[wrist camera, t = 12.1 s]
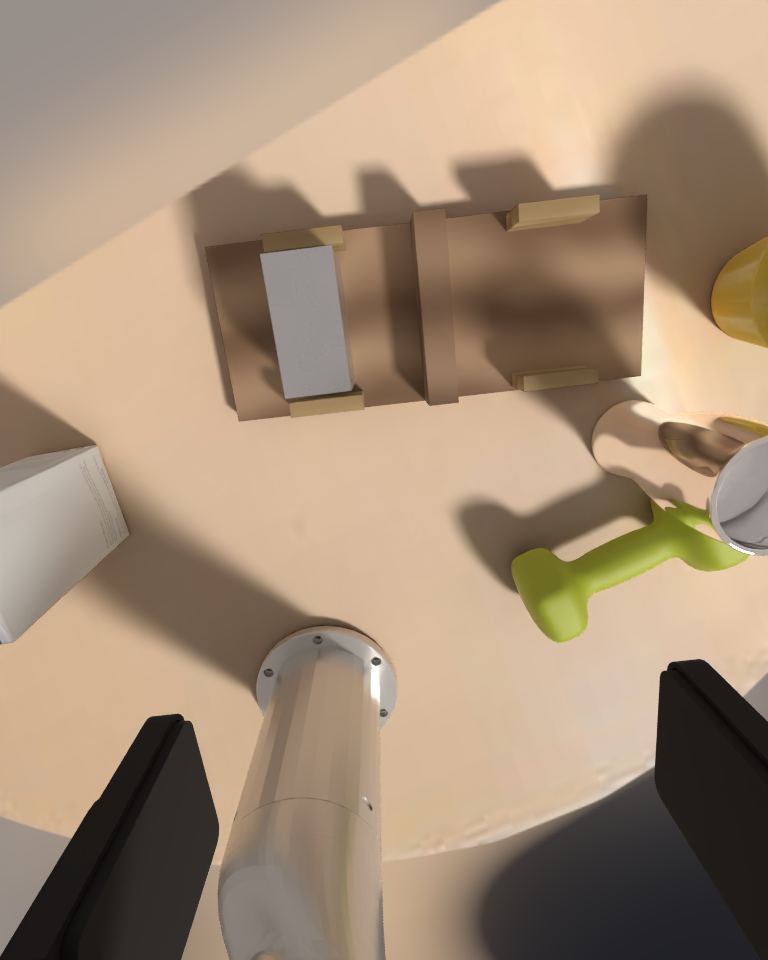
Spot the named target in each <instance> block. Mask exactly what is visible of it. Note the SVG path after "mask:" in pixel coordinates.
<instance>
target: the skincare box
mask: <svg viewBox="0 0 768 960" xmlns="http://www.w3.org/2000/svg"><path fill="white" fill-rule="evenodd" d="M128 536H129V531H128V528H127V526H126V523H125V520H124V518H123V515H122V512H121V509H120V507H119V504H118V501H117V498H116V496H115V493H114V490H113V487H112V484H111V482H110V479H109V476H108V474H107V471H106V469H105V466H104V464H103V461H102V458H101V455H100V452H99V449H98V446H97V445H91V446H86V447H80V448H74V449H68V450H63V451H57V452H52V453H46V454H41V455H35V456H30V457H25V458H23V459H20V460H18V461H16V462H13V463H10V464H8V465H6V466H3V467H1V468H0V644H6V643H13V642H15V641H16V640H17V639H18V638H19V637H20V636H21V635H22V634H23V633H24V632H25V631H26V630H27V629H29V628H30V627H31V626H32V625H33V624H34V623H35V622H36V621H37V620H38V619H39V618H40V617H41V616H42V615H44V614H45V613H46V612H47V611H48V610H49V609H50V608H51V607H52V606H53V605H54V604H55V603H56V602H58V601H59V600H60V599H61V598H62V597H63V596H64V595H65V594H66V593H67V592H68V591H69V590H71V589H72V588H73V587H74V586H75V585H76V584H77V583H78V582H79V581H80V580H81V579H82V578H84V577H85V576H86V575H87V574H88V573H89V572H90V571H91V570H92V569H93V568H94V567H95V566H96V565H97V564H99V563H100V562H101V561H102V560H103V559H104V558H105V557H106V556H107V555H108V554H109V553H110V552H111V551H113V550H114V549H115V548H116V547H117V546H118V545H119V544H120V543H121V542H122V541H123V540H124V539H126V538H127V537H128Z"/></svg>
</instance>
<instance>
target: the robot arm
mask: <svg viewBox="0 0 768 960" xmlns="http://www.w3.org/2000/svg"><path fill="white" fill-rule="evenodd" d="M256 695H257V700H258V704H259V707H260V709H261V711H262V713H263V716H264V719H263V723H262V726H261V730H260V733H259V736H258V740H257V743H256V747H255V750H254V753H253V757H252V760H251V764H250V767H249V770H248V774H247V777H246V781H245V784H244V788H243V791H242V794H241V798H240V801H239V805H238V808H237V811H236V815H235V818H234V822H233V825H232V829H231V832H230V836H229V839H228V842H227V846H226V849H225V853H224V856H223V860H222V864H221V868H220V874H219V881H218V913H219V920H220V925H221V930H222V936H223V939H224V943H225V947H226V950H227V953H228V956H229V960H386V957H385V942H384V926H383V897H382V853H381V768H380V729H381V728H382V727H383V726H384V725H385V723H386V722H387V721H388V719H389V718H390V716H391V714H392V712H393V709H394V707H395V703H396V698H397V683H396V674H395V671H394V668H393V666H392V663H391V661H390V660H389V658H388V656H387V655H386V653H385V652H384V651H383V650H382V649H381V648H380V647H379V646H378V645H377V644H376V643H375V642H373V641H372V640H371V639H369V638H368V637H366V636H364V635H362V634H360V633H358V632H356V631H353V630H350V629H346V628H343V627H335V626H317V627H311V628H306V629H302V630H299V631H297V632H295V633H292V634H290V635H288V636H287V637H285V638H284V639H282V640H281V641H279V642H278V643H277V644H276V645H275V646H274V647H273V648H272V649H271V650H270V651H269V653H268V654H267V656H266V658H265V659H264V661H263V663H262V666H261V668H260V671H259V674H258V679H257V683H256ZM655 784H656V788H657V791H658V793H659V796H660V798H661V799H662V801H663V803H664V804H665V806H666V808H667V809H668V811H669V812H670V814H671V816H672V817H673V819H674V821H675V822H676V824H677V825H678V827H679V829H680V830H681V832H682V833H683V835H684V837H685V838H686V840H687V842H688V843H689V845H690V846H691V848H692V849H693V851H694V853H695V854H696V856H697V858H698V859H699V861H700V862H701V864H702V866H703V867H704V869H705V871H706V872H707V874H708V875H709V877H710V879H711V880H712V882H713V883H714V885H715V887H716V888H717V890H718V892H719V893H720V895H721V896H722V898H723V899H724V901H725V903H726V904H727V906H728V908H729V909H730V911H731V913H732V914H733V916H734V917H735V919H736V921H737V922H738V924H739V926H740V927H741V929H742V930H743V932H744V933H745V935H746V937H747V938H748V940H749V942H750V943H751V945H752V946H753V948H754V950H755V951H756V953H757V955H758V956H759V958H760V959H761V960H768V722H767V721H766V720H765V719H764V718H763V717H762V716H761V715H760V714H759V713H758V712H757V711H756V710H755V709H754V708H753V707H752V706H751V705H750V704H749V703H748V702H747V701H746V700H745V699H744V698H743V697H742V696H741V695H740V694H739V693H738V692H737V691H736V690H735V689H734V688H733V687H732V686H731V685H730V684H729V683H728V682H727V681H726V680H725V679H724V678H723V677H722V676H721V675H719V674H718V673H717V672H716V671H715V670H714V669H713V668H712V667H711V666H710V665H709V664H708V663H707V662H706V661H704V660H701V659H697V660H687V661H678V662H671V663H670V664H669V665H668V668H667V671H662V673H661V675H660V687H659V705H658V723H657V741H656V759H655ZM218 836H219V822H218V818H217V814H216V810H215V806H214V803H213V799H212V795H211V792H210V788H209V784H208V780H207V777H206V773H205V769H204V765H203V762H202V758H201V754H200V751H199V747H198V743H197V739H196V736H195V732H194V728H193V725H192V723H191V722H190V721H184V718H183V716H182V715H181V714H172V715H162V716H153V717H150V718H148V719H147V721H146V722H145V723H144V725H143V727H142V728H141V730H140V732H139V733H138V735H137V737H136V738H135V740H134V742H133V743H132V745H131V747H130V748H129V750H128V752H127V753H126V755H125V757H124V758H123V760H122V762H121V763H120V765H119V767H118V768H117V770H116V772H115V773H114V775H113V777H112V778H111V780H110V782H109V783H108V785H107V787H106V788H105V790H104V792H103V793H102V795H101V797H100V798H99V799H98V800H97V801H96V802H95V803H94V804H93V805H92V807H91V808H90V809H89V811H88V813H87V814H86V816H85V817H84V819H83V821H82V822H81V824H80V826H79V827H78V829H77V831H76V832H75V834H74V836H73V837H72V839H71V841H70V842H69V844H68V846H67V847H66V849H65V851H64V852H63V854H62V856H61V857H60V859H59V861H58V862H57V864H56V865H55V867H54V869H53V871H52V872H51V874H50V875H49V877H48V879H47V880H46V882H45V884H44V885H43V887H42V889H41V890H40V892H39V893H38V895H37V897H36V898H35V900H34V902H33V903H32V905H31V907H30V908H29V910H28V912H27V913H26V915H25V917H24V918H23V920H22V921H21V923H20V925H19V927H18V928H17V930H16V931H15V933H14V935H13V936H12V938H11V940H10V941H9V943H8V945H7V946H6V948H5V950H4V951H3V953H2V955H1V956H0V960H181V958H182V955H183V952H184V948H185V945H186V942H187V938H188V935H189V932H190V929H191V926H192V923H193V920H194V916H195V913H196V910H197V907H198V904H199V900H200V897H201V894H202V891H203V887H204V884H205V881H206V878H207V875H208V871H209V868H210V865H211V862H212V859H213V855H214V852H215V849H216V846H217V842H218Z"/></svg>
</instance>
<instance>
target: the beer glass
mask: <svg viewBox="0 0 768 960" xmlns="http://www.w3.org/2000/svg"><path fill="white" fill-rule="evenodd" d="M591 445H592V451H593V455H594V457H595V459H596V461H597V462H598V463H599V465H600V466H601V467H602V468H604V469H605V470H606V471H608V472H610V473H612V474H615V475H619V476H625V477H628V478H631V479H633V480H634V481H635V482H636V483H637V484H638V485H639V486H640V487H641V488H642V489H643V491H644V492H645V493H646V494H647V495H648V496H649V497H650V498H651V499H652V500H653V501H654V502H655V503H656V504H657V505H659V506H660V507H661V508H662V509H663V510H664V511H665V512H667V513H668V514H670V515H671V516H673V517H674V518H676V519H677V520H679V521H680V522H682V523H683V524H685V525H687V526H689V527H690V528H692V529H694V530H696V531H698V532H700V533H702V534H704V535H706V536H708V537H710V538H712V539H715V540H717V541H719V542H721V543H724V544H726V545H728V546H730V547H731V548H733V549H735V550H737V551H739V552H742V553H745V554H749V555H757V556H765V555H768V423H767V422H764V421H760V420H756V419H753V418H749V417H745V416H739V415H733V414H727V413H716V412H684V413H666V412H665V411H663V410H662V409H660V408H659V407H657V406H655V405H653V404H651V403H649V402H646V401H641V400H630V401H625V402H622V403H619V404H617V405H615V406H613V407H611V408H610V409H609V410H607V411H606V412H605V413H604V414H603V415H602V416H601V418H600V419H599V420H598V422H597V424H596V426H595V428H594V431H593V434H592V441H591Z"/></svg>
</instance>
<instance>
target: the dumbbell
mask: <svg viewBox="0 0 768 960" xmlns="http://www.w3.org/2000/svg"><path fill="white" fill-rule="evenodd" d="M651 508H652V512H653V515H654V521H653V522H652V523H651V524H650V525H648V526H646V527H643V528H640V529H637V530H634V531H632V532H629V533H627V534H625V535H622V536H620V537H618V538H616V539H614V540H611V541H609V542H607V543H605V544H603V545H601V546H599V547H597V548H595V549H593V550H591V551H590V552H588V553H586V554H584V555H583V556H581V557H580V558H578V559H576V560H574V561H571V562H565V561H562V560H561V559H559V558H558V557H557V556H556V555H554V554H553V553H552V552H551V551H549V550H547V549H545V548H535V549H532V550H529V551H527V552H525V553H523V554H521V555H519V556H517V557H515V559H514V560H513V562H512V565H511V572H512V576H513V579H514V582H515V585H516V587H517V590H518V592H519V594H520V596H521V599H522V601H523V603H524V604H525V606H526V608H527V610H528V612H529V614H530V615H531V617H532V619H533V620H534V622H535V623H536V625H537V626H538V627H539V628H540V630H541V631H542V632H543V633H544V634H545V635H546V636H547V637H548V638H550V639H551V640H553V641H555V642H558V643H563V642H566V641H569V640H571V639H573V638H575V637H577V636H579V635H580V634H582V633H583V632H584V631H585V629H586V627H587V623H588V613H587V602H588V599H589V597H590V596H591V595H592V594H594V593H596V592H599V591H601V590H605V589H608V588H611V587H613V586H616V585H618V584H620V583H622V582H625V581H627V580H629V579H631V578H633V577H635V576H638V575H640V574H642V573H644V572H646V571H648V570H650V569H652V568H654V567H656V566H657V565H659V564H661V563H662V562H664V561H666V560H667V559H670V558H673V557H678V558H680V559H682V560H683V561H684V562H685V563H687V564H688V565H689V566H691V567H693V568H695V569H697V570H701V571H719V570H723V569H727V568H730V567H732V566H735V565H737V564H739V563H741V562H743V561H745V560H746V559H747V558H748V556H749V554H745V553H742V552H739V551H737V550H735V549H733V548H731V547H730V546H728V545H726V544H724V543H721V542H719V541H717V540H715V539H712V538H710V537H708V536H706V535H704V534H702V533H700V532H698V531H696V530H694V529H692V528H690V527H689V526H687V525H685V524H683V523H682V522H680V521H679V520H677V519H676V518H674V517H673V516H671V515H670V514H668V513H667V512H665V511H664V510H663V509H662V508H661V507H660V506H659V505H657V504H656V503H655V502H654V501H653V500H652V499H651Z"/></svg>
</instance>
